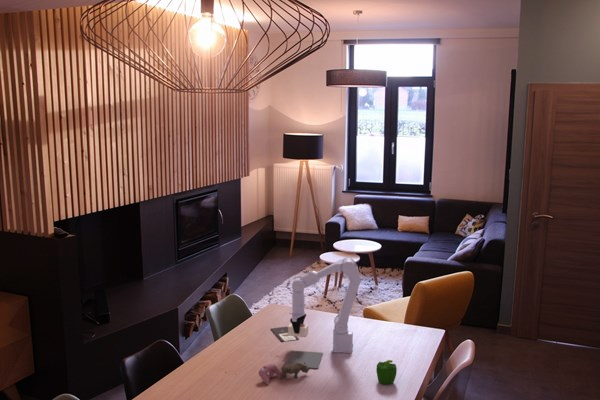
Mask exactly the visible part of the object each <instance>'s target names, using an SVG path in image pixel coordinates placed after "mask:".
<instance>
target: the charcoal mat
mask: <svg viewBox="0 0 600 400" xmlns="http://www.w3.org/2000/svg"><path fill="white" fill-rule="evenodd" d="M323 354H324V352H318V351H304V350H290V353H289V355H288V357H287V359H286V361H285V363H284V365H286V364H290V365H292V364H296V363H301V364H304V363H305V366H306V365H307V367H308V368H310V367H311V368H310V370H319V366H320V364H321V361H322V357H323ZM307 367H306V368H307ZM308 368H307V369H308Z"/></svg>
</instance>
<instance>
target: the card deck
mask: <svg viewBox="0 0 600 400" xmlns="http://www.w3.org/2000/svg"><path fill="white" fill-rule="evenodd" d="M287 327H288V336H297V337H298V338H307V337H308V334H309V324H305V323H303V324H301V325H300V331H299V334H296V333H294V330H293V326H292V323H291V322H290V323H289V325H288V326H287Z"/></svg>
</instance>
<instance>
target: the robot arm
mask: <svg viewBox="0 0 600 400" xmlns="http://www.w3.org/2000/svg"><path fill="white" fill-rule="evenodd" d="M333 273H338V274H342V273H343V274H344V275H346V276H347V278H348V279H349V283H348V286H347V289H346V291H345V293H344V294H345V295H344V297H343V301H342V304H341V307H340V309H339V311H338V313H337V315H336V316H335V317H334V319H333V322H334V323H333V325H334V328H333V330H332V348H331V352H332V353H345V354H352V352H353V348H354V342H353V340H354V338H353V336H354V334H353V333H354V332H352V331H350V330H349V329H348V328H349V327H348V322H349V318H350V314H351V311H352V309H353V305H354V303H355V299H356V296H357V293H358V290H359V287H360V284H361V281H362V278H361V275H360V272H359V268H358V264H357V263H356V261H355V260H354V258H352V257H349V256H347V257H346V256H345V257H344V258H343V259H339V260H336V261H335V262H333V263H331V264H330V265H328V266H326V267H324V268H322V269H320V270H318V271H315V270H309V271H308V273H306V274H303V276H302V275H300V276H298V277H296V278H294V279H293V281H292V284H291V288H292V295H291V297H292V299H291V300H292V303H291V305H292V306H291V307H292V309H291V311H290V312H289V314H290V315H291V316H292V317H291V318H290V320H289V321H290V324H291V323H292V326H293V330H294V333H296V334H299V331H300V325H301V324H305V323H304V322H305V319H306V317H307V313H305V312H306V311H305V289H307V288H309V287H312V286H313V285H315V284H317V283H319V282H320V279H321V278H324V277H326V276H328V275H330V274H333Z"/></svg>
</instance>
